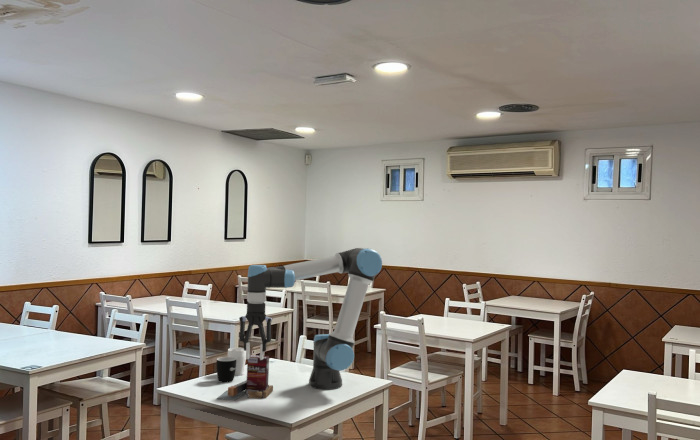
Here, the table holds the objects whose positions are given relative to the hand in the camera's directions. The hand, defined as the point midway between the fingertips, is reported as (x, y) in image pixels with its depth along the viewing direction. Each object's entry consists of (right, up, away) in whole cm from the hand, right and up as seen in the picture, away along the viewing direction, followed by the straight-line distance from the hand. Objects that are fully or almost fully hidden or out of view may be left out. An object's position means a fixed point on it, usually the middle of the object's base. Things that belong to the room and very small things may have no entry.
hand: (254, 358), depth 233 cm
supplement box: (0, -17, +9) cm, 19 cm away
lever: (-7, -17, +8) cm, 20 cm away
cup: (-16, -18, +42) cm, 48 cm away
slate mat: (-11, -17, +5) cm, 20 cm away
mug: (-18, -17, +30) cm, 39 cm away
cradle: (-1, -17, +10) cm, 20 cm away
